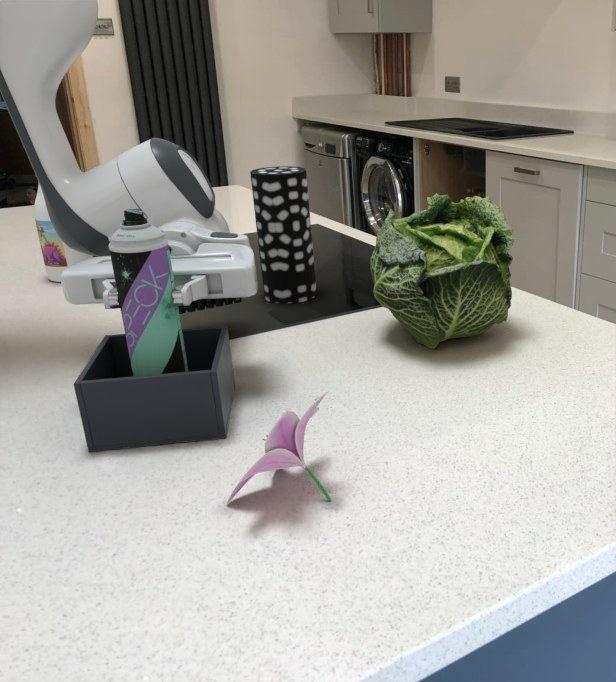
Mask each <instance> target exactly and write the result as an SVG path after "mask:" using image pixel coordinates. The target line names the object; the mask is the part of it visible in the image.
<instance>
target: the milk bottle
mask: <svg viewBox="0 0 616 682" xmlns="http://www.w3.org/2000/svg"><path fill="white" fill-rule="evenodd" d="M37 183H38V185H37V192H36V196H35V199H34V200H35V201H34V205H33V214H34V215H33V216H34V221H35V227H36V232H37V237H38V241H39V246H40V250H41V253H42V254H41V255H42V259H43V264H44V269H45V272H46V276H47V278H48V279H49V281H51V282H58V283H61V273H62V272H63V271H64V270H66V269H67V268H69V267H71V266H73V265H74V264H76V263H78V262H80V261H83V260H85V259H88V258H93V257H94V256H93V255H88V254H85V253H81V252H78V251H76V250H74V249H71V248H70V247H68V246H67V245H66V244H65V243H64V242H63V241H62V240H61V238H60V237H59V236H58V234H57V233H56V231H55V229H54V227H53V225H52V223H51V220H50V217H49V214H48V211H47V207H46V204H45V200H44V196H43V193H42V189H41V187H40V184H39V181H38V180H37Z"/></svg>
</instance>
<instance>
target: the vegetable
mask: <svg viewBox="0 0 616 682" xmlns="http://www.w3.org/2000/svg"><path fill="white" fill-rule="evenodd" d="M426 202H427V208H426V209H423V210H420V211H418V212H417V211H416V212H413V213H411V214H410V215H409V216H406V217H399V218H396V213H395V212H394V210H393V209H392V208H390V209H389V211H388V214H387V216H386V217H385V219H384V220H383V222H382V225H381V227H380V230H378V232H377V233H376V237H375V247H374V249H373V252H372V254H371V257H370V272H371V276H372V280H373V285H374V286H373V291H372V292H373V297H374V298H375V300H376V301H377V302H378V304H379V305H380V306H382V307H383V308H385V309H388V311H389V312H390V313H391V315H392V316H393V317H394V318H395V319H396V320H397V322H398V323H399V324H400V326H402V327H403V328H404V329H405V330H406V331H407V332H409V333H410V335H411V336H412V337H413V338H414V340H415V341H417V343H418V344H420V345H424V346H425V347H427V348H429V349H432V350H435V349H436V348H437V346H438V345H439V344H440V342H444V341H447V340H448V339H459V338H466V337H474V336H476V335H481V334H484V333H485V332H486V331H488V330H490V329H491V328H492V327H494V325H496V324H497V325H500V324H502V323H503V322H506V321H507V320H508V317H509V309H510V308H511V306H512V298H513V292H512V291H513V290H512V287H511V286H512V285H511V280H510V279H511V278H512V274H511V271H510V266H511V264H512V263H513V258H514V257H513V256H512V255H511V254H509V251H510V249H512V247H513V245H514V242H515V240H516V237H515V236H514V235H513V232H514V229H513V228H512V227H511V226H510V225H509V224H508V221H507V220H506V215H505V212H504V211H503V210H502V208H501V207H500V206H499V205H497V204H494V203H492V200H491V197H490V196H486V197H481V196H478V195H474V196H471V197H470V196H466V197H465V198H464V199H462V198H461V199H460V200H459V202H453V200H452V199H451V197H450V196H449V195H448V194H443V195H440V194H439V193H438V192H436V193H435V194H434V195H433V196H427V197H426Z"/></svg>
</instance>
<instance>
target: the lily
mask: <svg viewBox="0 0 616 682" xmlns="http://www.w3.org/2000/svg"><path fill="white" fill-rule="evenodd" d="M328 393H329V390H328V391H326V392H325V393H324V394H322V395H321V396H320V397H319V398H318V399H317V400H316V401H315V402H314V403H313V404H312V405H310V407H309V408H308V409H307V410H306V411H305V413H304V414H303V415H302V416H301V418H299V415H298V414H297V413H295V412H294V411H292V410H287V411H285V412H284V413H283V414H282V415H281V416H280V417H279V418H278V420H277V421H276V422H275V423H274V425H273V426H272V428H271V429H270V432H269V433H268V434H266V436H265V437H266V438H262V440H263V441H265V442H264V452H265V453H264V454H263V455H262V456H261V457H260V458H259V459H258V460H257V461H256V462H255V463H254V464H253V465H252V466H251V467H250V468H249V469H248V470H247V472H246V473H245V474H244V475H243V476H242V478H241V479H240V481H239V482H238V483H237V485H236V486H235V487H234V488H233V491H232V492H231V494H230V496H229V497H228V499H227V501H226V505H229V503H230V502H231V501H232V500H233V499H234V498H235V496H236V495H237V494H238V493H239V492H240V491H241V489H242V488H243V487H244V486H245V485H246V484H247V483H248V482H249V481H250V480H251V479H252V478H253V477H254V476H255V475H257V474H260V473H266V472H271V471H277V470H283V469H289V468H294V467H296V468H297V467H301V468H303V469H304V470H305V472H307V474H308V475H309V476H310V477H311V479H312V480H313V481H314V482H315V484H316V485H317V487H318V488H319V490H320V491H321V492H322V494H323V495H324V497H325V498H326V500H327V501H328V502H329V501H331V500H332V498H331V496H330V495H329V494H328V492H327V490H326V489H325V488H324V486H323V485H322V484H321V482H320V480H319V479H318V477H316V475H315V474H314V473H313V472H312V470H311V469H310V468H309V467H308V465H307V464H306V463H305V457H304V442H305V434H306V433H305V432H306V429H307V424H308V423H309V420H310V419H311V418H312V417H313V416H314V415H315V414H316V413H317V412H319V410H320V407H318V406H319V405H320V403H321V402H322V400H323V399H325V397H326V395H327V394H328Z"/></svg>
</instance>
